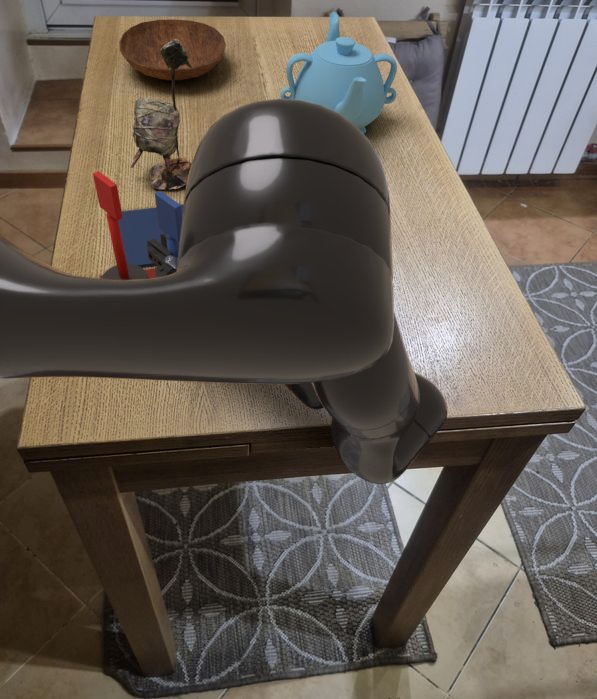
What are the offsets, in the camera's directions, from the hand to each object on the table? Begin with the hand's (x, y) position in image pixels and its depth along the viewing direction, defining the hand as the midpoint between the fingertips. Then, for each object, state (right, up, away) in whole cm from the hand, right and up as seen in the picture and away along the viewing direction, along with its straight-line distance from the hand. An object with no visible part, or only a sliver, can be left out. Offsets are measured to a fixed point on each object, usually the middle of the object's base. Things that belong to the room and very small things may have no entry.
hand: (157, 243), depth 69 cm
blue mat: (-3, +4, +17) cm, 17 cm away
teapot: (+23, +29, +41) cm, 55 cm away
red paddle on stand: (-6, -4, +9) cm, 11 cm away
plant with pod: (-4, +15, +26) cm, 30 cm away
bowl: (-8, +42, +50) cm, 66 cm away
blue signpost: (+2, -7, +5) cm, 9 cm away
